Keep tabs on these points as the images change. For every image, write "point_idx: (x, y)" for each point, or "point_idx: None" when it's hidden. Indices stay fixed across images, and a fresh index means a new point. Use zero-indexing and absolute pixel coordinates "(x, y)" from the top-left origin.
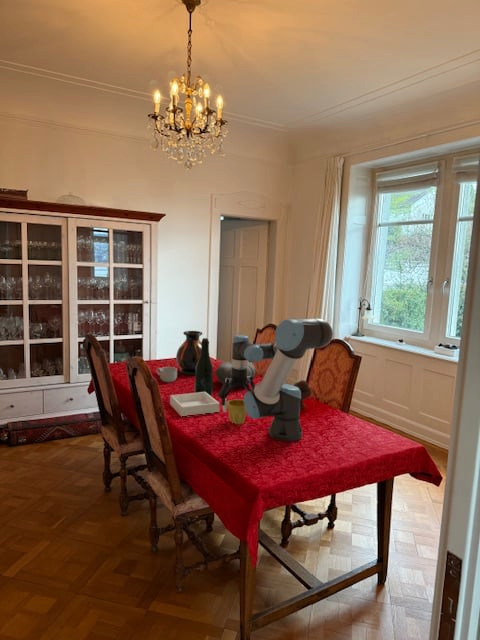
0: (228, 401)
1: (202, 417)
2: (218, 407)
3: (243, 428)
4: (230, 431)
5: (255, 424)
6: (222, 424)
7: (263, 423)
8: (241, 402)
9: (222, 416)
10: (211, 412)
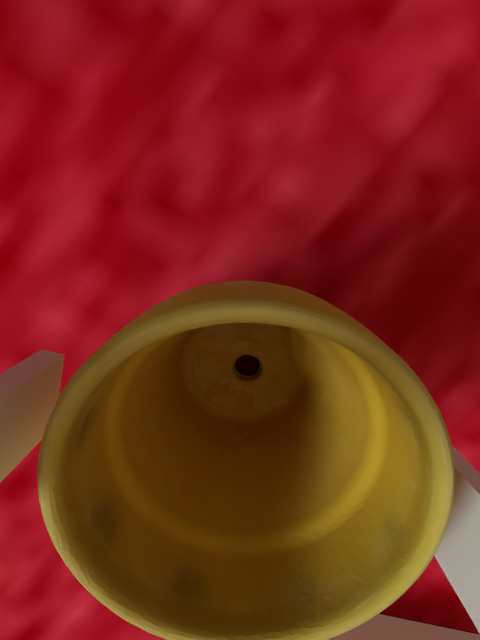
0: (336, 629)
1: None
2: None
3: (305, 193)
4: (467, 207)
5: (128, 207)
6: None
7: (35, 179)
8: (107, 531)
9: None
10: None
